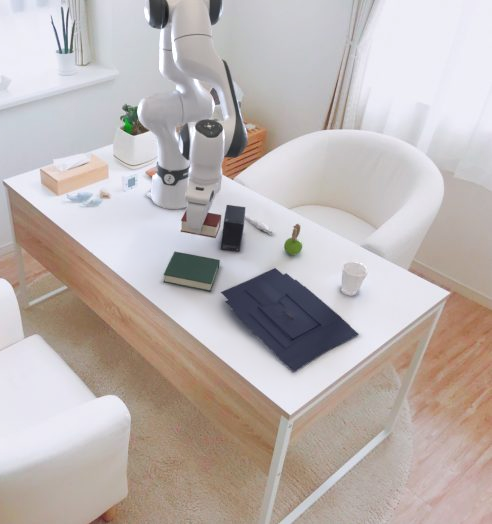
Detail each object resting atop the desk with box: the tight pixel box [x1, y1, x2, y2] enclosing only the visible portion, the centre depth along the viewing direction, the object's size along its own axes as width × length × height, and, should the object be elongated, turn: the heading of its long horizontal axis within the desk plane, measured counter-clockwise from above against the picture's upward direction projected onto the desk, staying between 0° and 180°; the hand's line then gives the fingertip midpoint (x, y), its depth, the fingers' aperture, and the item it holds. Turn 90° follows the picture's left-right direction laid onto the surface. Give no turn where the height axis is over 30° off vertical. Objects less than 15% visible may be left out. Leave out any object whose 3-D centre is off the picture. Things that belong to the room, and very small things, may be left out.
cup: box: [340, 261, 368, 297], centre depth 163 cm, size 7×10×8 cm
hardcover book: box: [163, 251, 221, 293], centre depth 169 cm, size 12×14×3 cm
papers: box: [220, 267, 360, 372], centre depth 154 cm, size 24×30×4 cm
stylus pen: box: [245, 214, 274, 236], centre depth 192 cm, size 15×3×2 cm, turn 36°
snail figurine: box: [283, 223, 303, 256], centre depth 176 cm, size 5×6×12 cm
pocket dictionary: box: [180, 208, 222, 239], centre depth 161 cm, size 6×10×4 cm, turn 72°
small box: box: [219, 204, 246, 252], centre depth 181 cm, size 11×6×10 cm, turn 168°
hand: (200, 225), depth 161 cm, fingers closed on pocket dictionary, 6 cm apart
